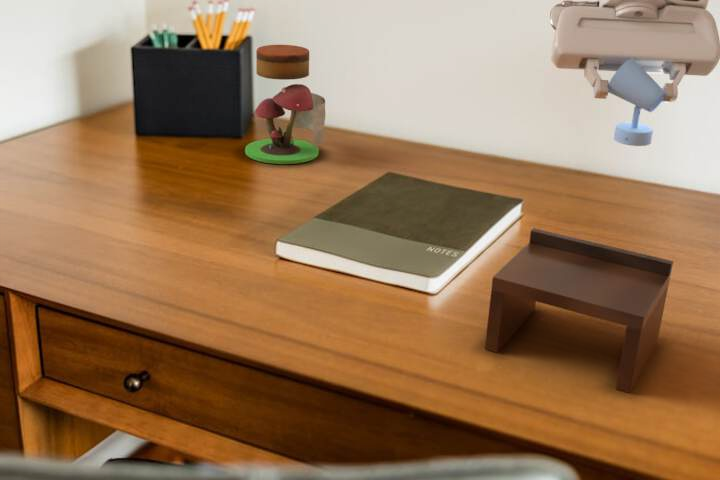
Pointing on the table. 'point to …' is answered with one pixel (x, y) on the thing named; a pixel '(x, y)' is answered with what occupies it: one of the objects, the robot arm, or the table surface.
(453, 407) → the table surface
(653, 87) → the spotlight
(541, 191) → the table surface
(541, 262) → the shelf
